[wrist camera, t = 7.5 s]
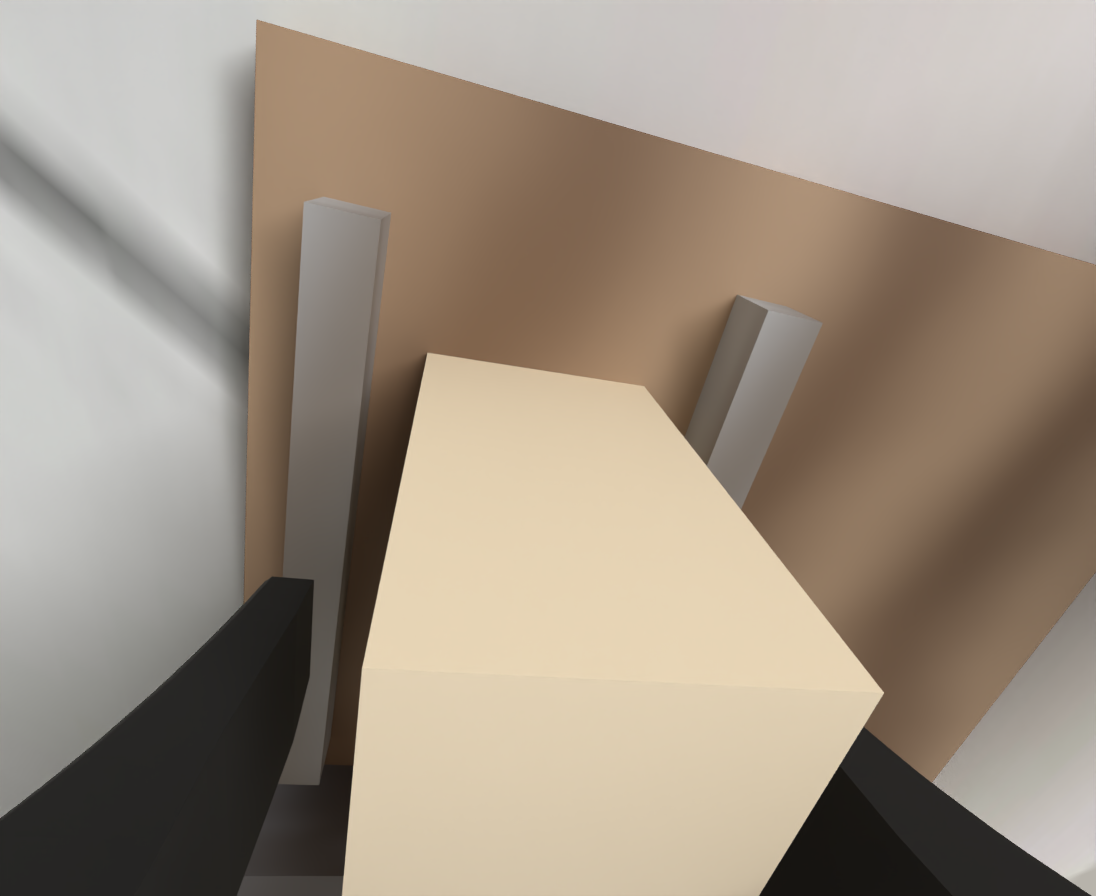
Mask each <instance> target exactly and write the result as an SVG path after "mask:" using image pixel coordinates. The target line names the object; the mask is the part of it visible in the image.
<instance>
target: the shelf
mask: <svg viewBox="0 0 1096 896" xmlns="http://www.w3.org/2000/svg"><path fill="white" fill-rule="evenodd" d="M427 353H433V354H439V355H446V356H452V357H459V358H465V359H472V360H478V361H484V362H491V363H497V364H504V365H510V366H517V367H523V368H530V369H536V370H542V371H549V372H555V373H562V374H568V375H575V376H581V377H587V378H594V379H600V380H607V381H613V382H620V383H626V384H633V385H639V386H644V387H645V388H646V389H647V390H648V392H649V393H650V394H651V396H652V397H653V398H654V399H655V401H656V402H657V403H658V405H659V406H660V407H661V408H662V410H663V411H664V412H665V413H666V415H667V416H668V417H669V419H670V420H671V421H672V422H673V424H674V425H675V426H676V428H677V429H678V430H679V431H680V433H681V434H682V435H683V436H684V438H685V439H686V440H687V442H688V443H689V444H690V445H691V447H692V448H693V449H694V451H695V452H696V453H697V454H698V456H699V457H700V458H701V459H702V461H703V462H704V463H705V465H706V466H707V467H708V468H709V470H710V471H711V472H712V474H713V475H714V476H715V477H716V479H717V480H718V481H719V482H720V484H721V485H722V486H723V488H724V489H725V490H726V491H727V493H728V494H729V495H730V497H731V498H732V499H733V500H734V502H735V503H736V504H737V505H738V507H739V508H740V509H741V511H742V512H743V513H744V514H745V516H746V517H747V518H748V520H749V521H750V522H751V523H752V525H753V526H754V527H755V529H756V530H757V531H758V532H759V534H760V535H761V536H762V537H763V539H764V540H765V541H766V543H767V544H768V545H769V546H770V548H771V549H772V550H773V552H774V553H775V554H776V555H777V557H778V558H779V559H780V560H781V562H782V563H783V564H784V566H785V567H786V568H787V569H788V571H789V572H790V573H791V575H792V576H793V577H794V578H795V580H796V581H797V582H798V583H799V585H800V586H801V587H802V589H803V590H804V591H805V592H806V594H807V595H808V596H809V598H810V599H811V600H812V601H813V603H814V604H815V605H816V606H817V608H818V609H819V610H820V612H821V613H822V614H823V615H824V617H825V618H826V619H827V621H828V622H829V623H830V624H831V626H832V627H833V628H834V629H835V631H836V632H837V633H838V635H839V636H840V637H841V638H842V640H843V641H844V642H845V644H846V645H847V646H848V647H849V649H850V650H851V651H852V652H853V654H854V655H855V656H856V658H857V659H858V660H859V661H860V663H861V664H862V665H863V667H864V668H865V669H866V670H867V672H868V673H869V674H870V675H871V677H872V678H873V679H874V681H875V682H876V683H877V684H878V686H879V687H880V688H881V690H882V691H883V692H884V694H883V696H882V697H881V699H880V701H879V702H878V704H877V705H876V707H875V709H874V710H873V712H872V713H871V715H870V717H869V718H868V720H867V722H866V723H865V725H864V727H865V728H866V729H867V730H868V731H869V732H871V733H872V734H873V735H874V736H875V737H876V738H878V739H879V740H880V741H881V742H882V743H884V744H885V745H886V746H887V747H888V748H890V749H891V750H892V751H893V752H894V753H896V754H897V755H898V756H899V757H900V758H902V759H903V760H904V761H905V762H907V763H908V764H909V765H910V766H911V767H913V768H914V769H915V770H916V771H917V772H919V773H920V774H921V775H923V776H924V777H925V778H926V779H928V780H929V781H930V782H931V783H932V782H933V780H934V779H935V778H936V776H937V775H938V774H939V773H940V771H941V770H942V769H943V767H944V766H945V765H946V764H947V762H948V761H949V760H950V758H951V757H952V756H953V755H954V753H955V752H956V751H957V749H958V748H959V747H960V746H961V744H962V743H963V742H964V740H965V739H966V738H967V737H968V735H969V734H970V733H971V732H972V730H973V729H974V728H975V726H976V725H977V724H978V723H979V721H980V720H981V719H982V717H983V716H984V715H985V714H986V712H987V711H988V710H989V708H990V707H991V706H992V705H993V703H994V702H995V701H996V699H997V698H998V697H999V696H1000V694H1001V693H1002V692H1003V690H1004V689H1005V688H1006V687H1007V685H1008V684H1009V683H1010V681H1011V680H1012V679H1013V678H1014V676H1015V675H1016V674H1017V672H1018V671H1019V670H1020V669H1021V667H1022V666H1023V665H1024V663H1025V662H1026V661H1027V660H1028V658H1029V657H1030V656H1031V654H1032V653H1033V652H1034V651H1035V649H1036V648H1037V647H1038V645H1039V644H1040V643H1041V642H1042V640H1043V639H1044V638H1045V636H1046V635H1047V634H1048V633H1049V631H1050V630H1051V629H1052V627H1053V626H1054V625H1055V624H1056V622H1057V621H1058V620H1059V618H1060V617H1061V616H1062V615H1063V613H1064V612H1065V611H1066V609H1067V608H1068V607H1069V606H1070V604H1071V603H1072V602H1073V600H1074V599H1075V598H1076V597H1077V595H1078V594H1079V593H1080V592H1081V590H1082V589H1083V588H1084V586H1085V585H1086V584H1087V583H1088V581H1089V580H1090V579H1091V577H1092V576H1093V575H1094V574H1095V572H1096V265H1094V264H1091V263H1088V262H1084V261H1081V260H1077V259H1074V258H1070V257H1067V256H1064V255H1060V254H1057V253H1053V252H1050V251H1046V250H1043V249H1040V248H1036V247H1033V246H1029V245H1026V244H1023V243H1019V242H1016V241H1012V240H1009V239H1005V238H1002V237H999V236H995V235H992V234H988V233H985V232H982V231H978V230H975V229H971V228H968V227H964V226H961V225H958V224H954V223H951V222H947V221H944V220H940V219H937V218H934V217H930V216H927V215H923V214H920V213H917V212H913V211H910V210H906V209H903V208H899V207H896V206H893V205H889V204H886V203H882V202H879V201H875V200H872V199H869V198H865V197H862V196H858V195H855V194H852V193H848V192H845V191H841V190H838V189H834V188H831V187H828V186H824V185H821V184H817V183H814V182H810V181H807V180H804V179H800V178H797V177H793V176H790V175H787V174H783V173H780V172H776V171H773V170H769V169H766V168H763V167H759V166H756V165H752V164H749V163H745V162H742V161H739V160H735V159H732V158H728V157H725V156H722V155H718V154H715V153H711V152H708V151H704V150H701V149H698V148H694V147H691V146H687V145H684V144H681V143H677V142H674V141H670V140H667V139H663V138H660V137H657V136H653V135H650V134H646V133H643V132H639V131H636V130H633V129H629V128H626V127H622V126H619V125H616V124H612V123H609V122H605V121H602V120H598V119H595V118H592V117H588V116H585V115H581V114H578V113H574V112H571V111H568V110H564V109H561V108H557V107H554V106H551V105H547V104H544V103H540V102H537V101H533V100H530V99H527V98H523V97H520V96H516V95H513V94H509V93H506V92H503V91H499V90H496V89H492V88H489V87H486V86H482V85H479V84H475V83H472V82H468V81H465V80H462V79H458V78H455V77H451V76H448V75H444V74H441V73H438V72H434V71H431V70H427V69H424V68H421V67H417V66H414V65H410V64H407V63H403V62H400V61H397V60H393V59H390V58H386V57H383V56H379V55H376V54H373V53H369V52H366V51H362V50H359V49H356V48H352V47H349V46H345V45H342V44H338V43H335V42H332V41H328V40H325V39H321V38H318V37H315V36H311V35H308V34H304V33H301V32H297V31H294V30H291V29H287V28H284V27H280V26H277V25H273V24H270V23H267V22H263V21H260V20H257V24H256V69H255V114H254V159H253V204H252V249H251V293H250V338H249V383H248V428H247V473H246V518H245V563H244V603H245V602H246V601H247V600H248V599H249V598H250V597H251V596H252V595H253V594H254V593H255V591H256V590H257V589H258V588H259V587H260V586H261V585H262V584H263V583H264V582H265V581H266V580H268V579H269V578H271V577H272V576H274V577H286V578H299V579H312V580H314V593H313V616H312V639H311V662H310V678H309V682H308V686H307V690H306V694H305V698H304V702H303V706H302V710H301V714H300V718H299V722H298V725H297V729H296V733H295V737H294V741H293V744H292V747H291V749H290V752H289V755H288V758H287V761H286V763H285V766H284V769H283V772H282V774H281V777H280V780H279V782H278V785H277V788H276V791H275V793H274V796H273V799H272V802H271V804H270V807H269V810H268V812H267V815H266V818H265V821H264V823H263V826H262V829H261V831H260V834H259V837H258V840H257V842H256V845H255V848H254V850H253V853H252V856H251V859H250V861H249V864H248V867H247V869H246V872H245V875H244V878H243V880H242V883H241V886H240V888H239V891H238V894H237V896H342V890H343V878H344V867H345V856H346V845H347V833H348V822H349V811H350V800H351V788H352V777H353V766H354V754H355V743H356V732H357V721H358V709H359V698H360V687H361V675H362V666H363V662H364V657H365V652H366V647H367V642H368V638H369V633H370V628H371V623H372V618H373V613H374V609H375V604H376V599H377V594H378V589H379V584H380V580H381V575H382V570H383V565H384V560H385V556H386V551H387V546H388V541H389V536H390V531H391V527H392V522H393V517H394V512H395V507H396V502H397V498H398V493H399V488H400V483H401V478H402V474H403V469H404V464H405V459H406V454H407V449H408V445H409V440H410V435H411V430H412V425H413V420H414V416H415V411H416V406H417V401H418V396H419V392H420V387H421V382H422V377H423V372H424V367H425V363H426V358H427Z"/></svg>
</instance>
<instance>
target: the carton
mask: <svg viewBox="0 0 1096 896" xmlns="http://www.w3.org/2000/svg"><path fill="white" fill-rule="evenodd" d="M883 694H884V692H883V691H882V690H881V688H880V687H879V686H878V684H877V683H876V682H875V681H874V679H873V678H872V677H871V675H870V674H869V673H868V672H867V670H866V669H865V668H864V667H863V665H862V664H861V663H860V661H859V660H858V659H857V658H856V656H855V655H854V654H853V652H852V651H851V650H850V649H849V647H848V646H847V645H846V644H845V642H844V641H843V640H842V638H841V637H840V636H839V635H838V633H837V632H836V631H835V629H834V628H833V627H832V626H831V624H830V623H829V622H828V621H827V619H826V618H825V617H824V615H823V614H822V613H821V612H820V610H819V609H818V608H817V606H816V605H815V604H814V603H813V601H812V600H811V599H810V598H809V596H808V595H807V594H806V592H805V591H804V590H803V589H802V587H801V586H800V585H799V583H798V582H797V581H796V580H795V578H794V577H793V576H792V575H791V573H790V572H789V571H788V569H787V568H786V567H785V566H784V564H783V563H782V562H781V560H780V559H779V558H778V557H777V555H776V554H775V553H774V552H773V550H772V549H771V548H770V546H769V545H768V544H767V543H766V541H765V540H764V539H763V537H762V536H761V535H760V534H759V532H758V531H757V530H756V529H755V527H754V526H753V525H752V523H751V522H750V521H749V520H748V518H747V517H746V516H745V514H744V513H743V512H742V511H741V509H740V508H739V507H738V505H737V504H736V503H735V502H734V500H733V499H732V498H731V497H730V495H729V494H728V493H727V491H726V490H725V489H724V488H723V486H722V485H721V484H720V482H719V481H718V480H717V479H716V477H715V476H714V475H713V474H712V472H711V471H710V470H709V468H708V467H707V466H706V465H705V463H704V462H703V461H702V459H701V458H700V457H699V456H698V454H697V453H696V452H695V451H694V449H693V448H692V447H691V445H690V444H689V443H688V442H687V440H686V439H685V438H684V436H683V435H682V434H681V433H680V431H679V430H678V429H677V428H676V426H675V425H674V424H673V422H672V421H671V420H670V419H669V417H668V416H667V415H666V413H665V412H664V411H663V410H662V408H661V407H660V406H659V405H658V403H657V402H656V401H655V399H654V398H653V397H652V396H651V394H650V393H649V392H648V390H647V389H646V388H645V387H644V386H639V385H633V384H626V383H620V382H613V381H607V380H600V379H594V378H587V377H581V376H575V375H568V374H562V373H555V372H549V371H542V370H536V369H530V368H523V367H517V366H510V365H504V364H497V363H491V362H484V361H478V360H472V359H465V358H459V357H452V356H446V355H439V354H433V353H427V358H426V363H425V367H424V372H423V377H422V382H421V387H420V392H419V396H418V401H417V406H416V411H415V416H414V420H413V425H412V430H411V435H410V440H409V445H408V449H407V454H406V459H405V464H404V469H403V474H402V478H401V483H400V488H399V493H398V498H397V502H396V507H395V512H394V517H393V522H392V527H391V531H390V536H389V541H388V546H387V551H386V556H385V560H384V565H383V570H382V575H381V580H380V584H379V589H378V594H377V599H376V604H375V609H374V613H373V618H372V623H371V628H370V633H369V638H368V642H367V647H366V652H365V657H364V662H363V666H362V675H361V687H360V698H359V709H358V721H357V732H356V743H355V754H354V766H353V777H352V788H351V800H350V811H349V822H348V833H347V845H346V856H345V867H344V878H343V890H342V896H759V895H760V893H761V891H762V890H763V888H764V887H765V885H766V883H767V882H768V880H769V878H770V877H771V875H772V874H773V872H774V870H775V869H776V867H777V866H778V864H779V862H780V861H781V859H782V857H783V856H784V854H785V853H786V851H787V849H788V848H789V846H790V844H791V843H792V841H793V840H794V838H795V836H796V835H797V833H798V832H799V830H800V828H801V827H802V825H803V823H804V822H805V820H806V819H807V817H808V815H809V814H810V812H811V811H812V809H813V807H814V806H815V804H816V802H817V801H818V799H819V798H820V796H821V794H822V793H823V791H824V789H825V788H826V786H827V785H828V783H829V781H830V780H831V778H832V777H833V775H834V773H835V772H836V770H837V768H838V767H839V765H840V764H841V762H842V760H843V759H844V757H845V756H846V754H847V752H848V751H849V749H850V747H851V746H852V744H853V743H854V741H855V739H856V738H857V736H858V734H859V733H860V731H861V730H862V728H863V726H864V725H865V723H866V722H867V720H868V718H869V717H870V715H871V713H872V712H873V710H874V709H875V707H876V705H877V704H878V702H879V701H880V699H881V697H882V696H883Z"/></svg>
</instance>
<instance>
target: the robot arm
mask: <svg viewBox="0 0 1096 896" xmlns="http://www.w3.org/2000/svg"><path fill="white" fill-rule="evenodd" d="M313 593H314V580H312V579H299V578H286V577H274V576H272V577H271V578H269V579H268V580H266V581H265V582H264V583H263V584H262V585H261V586H260V587H259V588H258V589H257V590H256V591H255V593H254V594H253V595H252V596H251V597H250V598H249V599H248V600H247V601H246V602H245V603H244V604H243V605H242V606H241V608H240V609H239V610H238V611H237V612H236V613H235V614H234V615H233V616H232V617H231V618H230V619H229V620H228V621H227V622H226V623H225V624H224V625H223V626H222V627H221V628H220V629H219V630H218V631H217V632H216V633H215V634H214V635H213V636H212V637H211V638H210V639H209V640H208V641H207V642H206V643H205V644H204V645H203V646H202V647H201V648H200V649H199V650H198V651H197V652H196V653H195V654H194V655H193V656H192V657H191V658H190V659H188V660H187V661H186V662H185V663H184V664H183V665H182V666H181V667H180V668H179V669H178V670H177V671H176V672H175V673H174V674H173V675H172V676H171V677H170V678H169V679H167V680H166V681H165V682H164V683H163V684H162V685H161V686H160V687H159V688H158V689H157V690H156V691H154V692H153V693H152V694H151V695H150V696H149V697H148V698H147V699H145V700H144V701H143V702H142V703H141V704H140V705H139V706H137V707H136V708H135V709H134V710H133V711H132V712H130V713H129V714H128V715H127V716H126V717H125V718H124V719H122V720H121V721H120V722H119V723H118V724H117V725H116V726H114V727H113V728H112V729H111V730H110V731H109V732H108V733H106V734H105V735H104V736H103V737H102V738H101V739H100V740H98V741H97V742H96V743H95V744H94V745H92V746H91V747H90V748H89V749H88V750H86V751H85V752H84V753H83V754H82V755H80V756H79V757H78V758H77V759H75V760H74V761H73V762H72V763H71V764H69V765H68V766H67V767H66V768H64V769H63V770H62V771H61V772H59V773H58V774H57V775H56V776H54V777H53V778H52V779H51V780H49V781H48V782H47V783H46V784H44V785H43V786H42V787H40V788H39V789H38V790H37V791H35V792H34V793H33V794H31V795H30V796H29V797H27V798H26V799H25V800H24V801H22V802H21V803H20V804H18V805H17V806H16V807H15V808H13V809H12V810H11V811H9V812H8V813H7V814H5V815H4V816H3V817H2V818H0V896H237V894H238V891H239V888H240V886H241V883H242V880H243V878H244V875H245V872H246V869H247V867H248V864H249V861H250V859H251V856H252V853H253V850H254V848H255V845H256V842H257V840H258V837H259V834H260V831H261V829H262V826H263V823H264V821H265V818H266V815H267V812H268V810H269V807H270V804H271V802H272V799H273V796H274V793H275V791H276V788H277V785H278V782H279V780H280V777H281V774H282V772H283V769H284V766H285V763H286V761H287V758H288V755H289V752H290V749H291V747H292V744H293V741H294V737H295V733H296V729H297V725H298V722H299V718H300V714H301V710H302V706H303V702H304V698H305V694H306V690H307V686H308V682H309V678H310V662H311V639H312V616H313ZM759 896H1091V895H1089V894H1088V893H1086V892H1085V891H1083V890H1082V889H1080V888H1079V887H1077V886H1076V885H1074V884H1073V883H1071V882H1070V881H1068V880H1067V879H1065V878H1064V877H1063V876H1061V875H1060V874H1058V873H1057V872H1055V871H1054V870H1052V869H1051V868H1049V867H1048V866H1046V865H1045V864H1043V863H1042V862H1040V861H1039V860H1037V859H1036V858H1034V857H1033V856H1031V855H1030V854H1028V853H1027V852H1025V851H1024V850H1022V849H1021V848H1020V847H1018V846H1017V845H1015V844H1014V843H1012V842H1011V841H1010V840H1008V839H1007V838H1005V837H1004V836H1003V835H1001V834H1000V833H998V832H997V831H995V830H994V829H993V828H991V827H990V826H989V825H987V824H986V823H985V822H983V821H982V820H981V819H979V818H978V817H977V816H975V815H974V814H972V813H971V812H970V811H968V810H967V809H966V808H964V807H963V806H962V805H960V804H959V803H958V802H956V801H955V800H954V799H952V798H951V797H950V796H948V795H947V794H946V793H944V792H943V791H942V790H940V789H939V788H938V787H937V786H935V785H934V784H933V783H931V782H930V781H929V780H928V779H926V778H925V777H924V776H923V775H921V774H920V773H919V772H917V771H916V770H915V769H914V768H913V767H911V766H910V765H909V764H908V763H907V762H905V761H904V760H903V759H902V758H900V757H899V756H898V755H897V754H896V753H894V752H893V751H892V750H891V749H890V748H888V747H887V746H886V745H885V744H884V743H882V742H881V741H880V740H879V739H878V738H876V737H875V736H874V735H873V734H872V733H871V732H869V731H868V730H867V729H866V728H865V727H864V726H863V728H862V730H861V731H860V733H859V734H858V736H857V738H856V739H855V741H854V743H853V744H852V746H851V747H850V749H849V751H848V752H847V754H846V756H845V757H844V759H843V760H842V762H841V764H840V765H839V767H838V768H837V770H836V772H835V773H834V775H833V777H832V778H831V780H830V781H829V783H828V785H827V786H826V788H825V789H824V791H823V793H822V794H821V796H820V798H819V799H818V801H817V802H816V804H815V806H814V807H813V809H812V811H811V812H810V814H809V815H808V817H807V819H806V820H805V822H804V823H803V825H802V827H801V828H800V830H799V832H798V833H797V835H796V836H795V838H794V840H793V841H792V843H791V844H790V846H789V848H788V849H787V851H786V853H785V854H784V856H783V857H782V859H781V861H780V862H779V864H778V866H777V867H776V869H775V870H774V872H773V874H772V875H771V877H770V878H769V880H768V882H767V883H766V885H765V887H764V888H763V890H762V891H761V893H760V895H759Z"/></svg>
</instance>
